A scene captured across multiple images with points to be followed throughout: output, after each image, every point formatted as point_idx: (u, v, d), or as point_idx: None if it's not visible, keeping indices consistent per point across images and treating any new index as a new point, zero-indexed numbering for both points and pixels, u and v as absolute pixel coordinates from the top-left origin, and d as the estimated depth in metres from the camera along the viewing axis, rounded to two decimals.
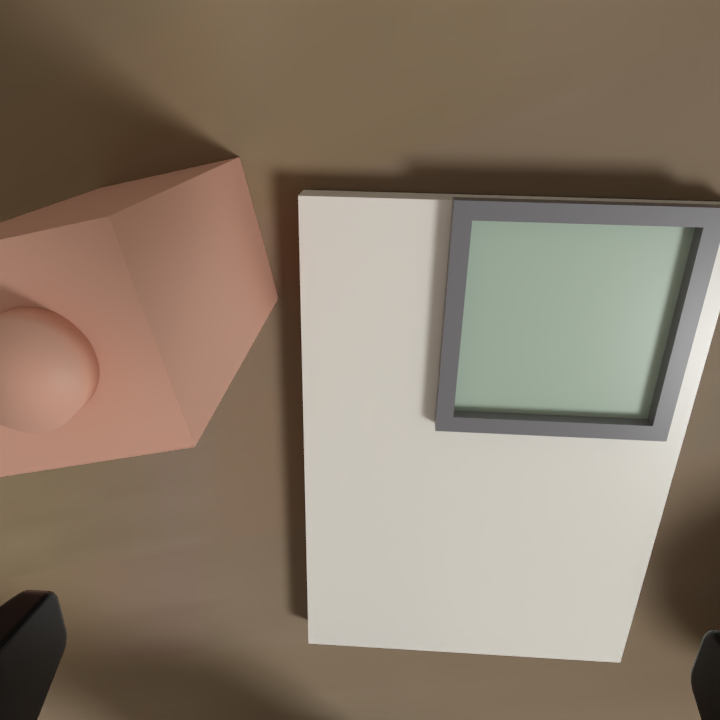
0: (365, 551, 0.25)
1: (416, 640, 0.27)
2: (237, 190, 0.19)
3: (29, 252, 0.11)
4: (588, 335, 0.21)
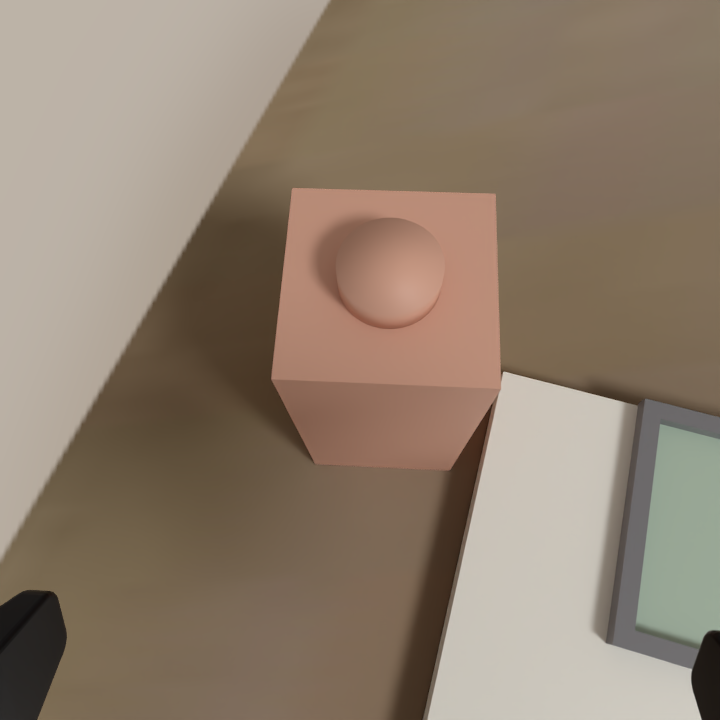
0: None
1: None
2: None
3: (423, 203, 0.15)
4: None
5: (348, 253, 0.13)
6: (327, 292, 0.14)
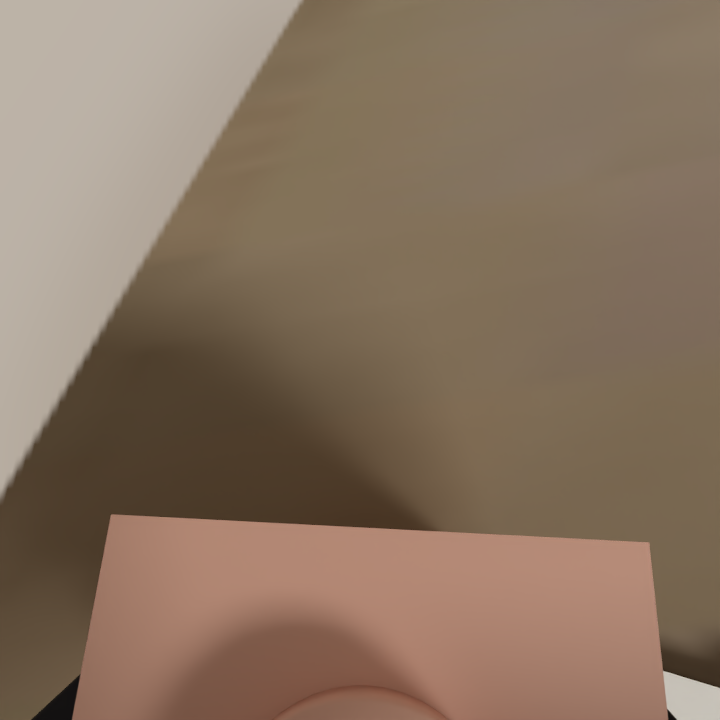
0: None
1: None
2: None
3: (456, 571, 0.05)
4: None
5: None
6: None
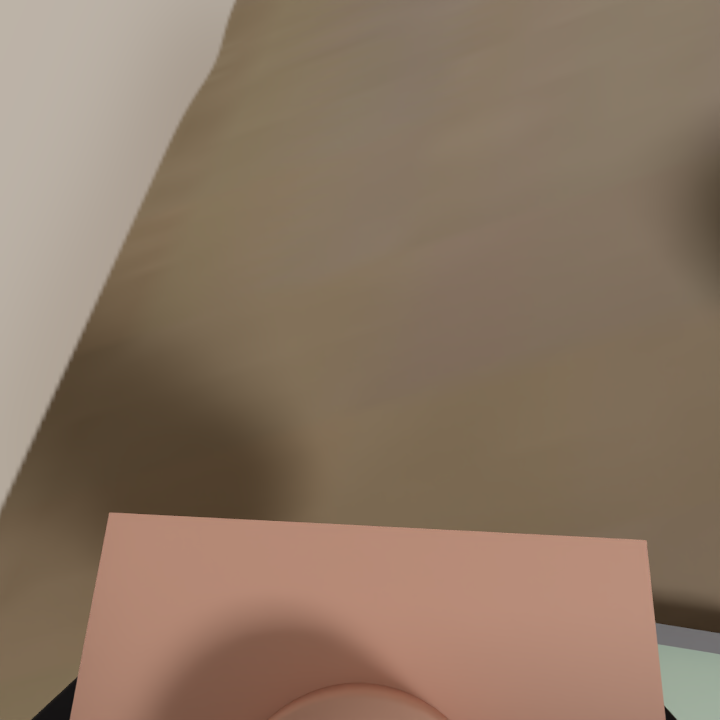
0: None
1: None
2: None
3: (453, 568, 0.05)
4: None
5: None
6: None
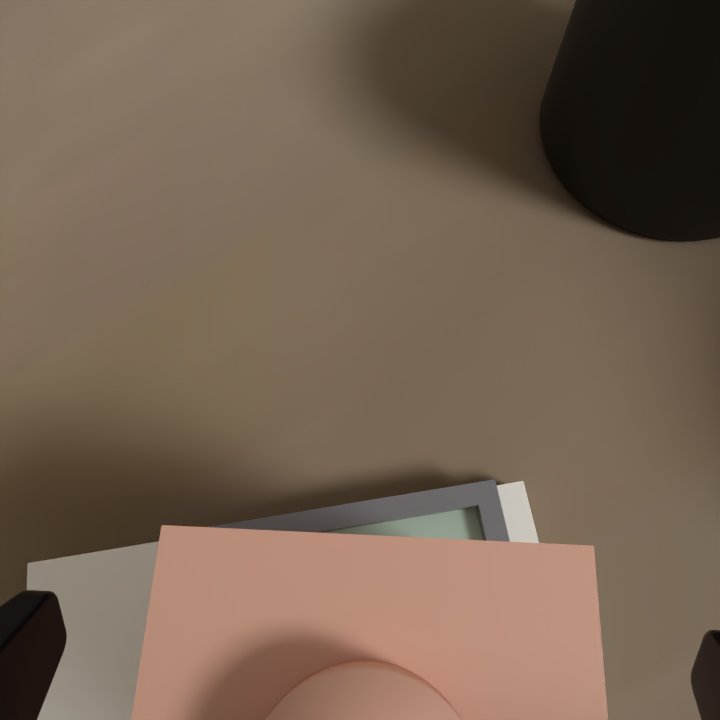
0: None
1: None
2: None
3: (439, 569, 0.07)
4: None
5: None
6: None
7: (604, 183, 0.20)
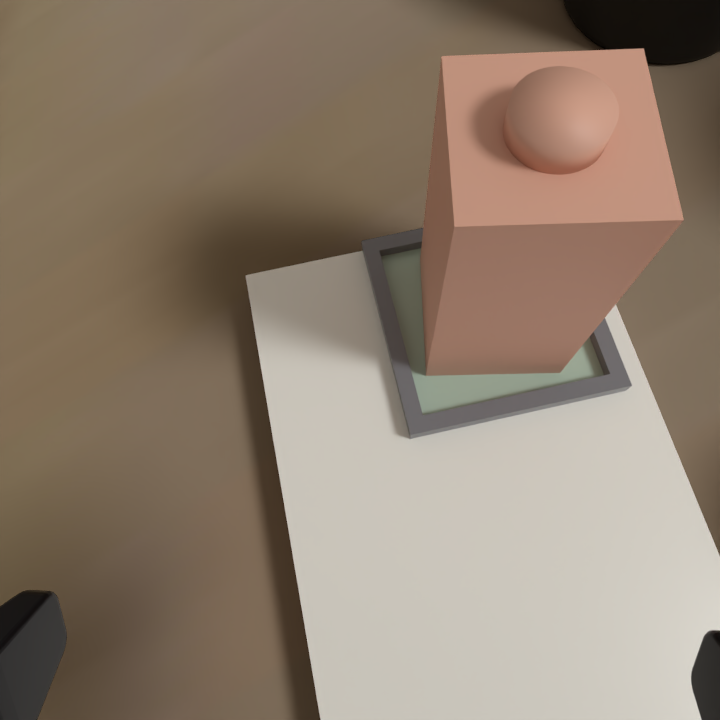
0: (384, 642, 0.20)
1: None
2: None
3: (574, 61, 0.15)
4: None
5: (520, 100, 0.14)
6: (495, 146, 0.14)
7: (614, 20, 0.28)
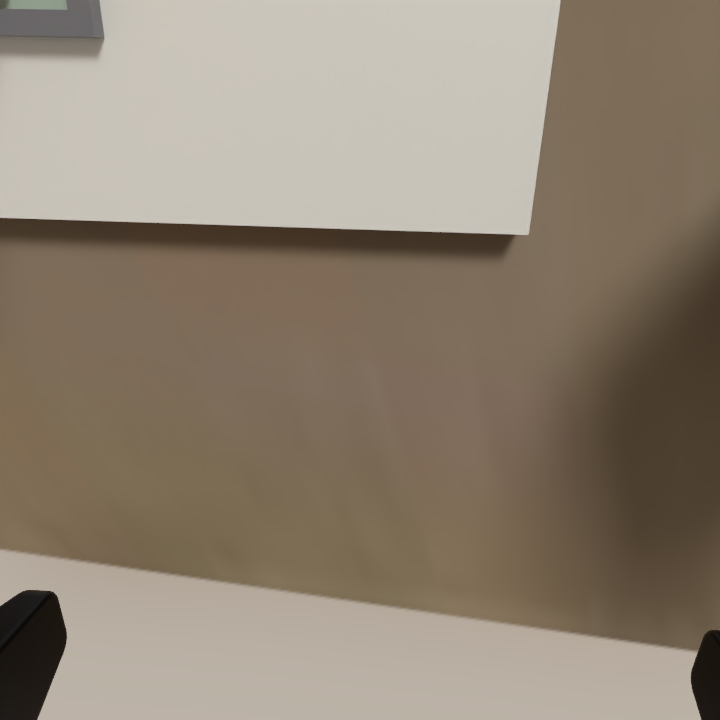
0: (340, 140, 0.17)
1: (530, 47, 0.16)
2: None
3: None
4: None
5: None
6: None
7: None
